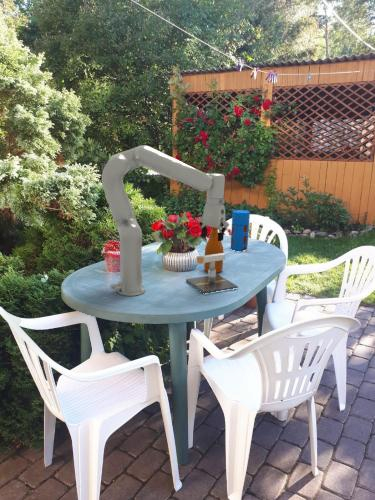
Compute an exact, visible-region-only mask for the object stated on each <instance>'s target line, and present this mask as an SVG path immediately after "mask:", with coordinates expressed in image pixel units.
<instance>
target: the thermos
mask: <svg viewBox="0 0 375 500" xmlns="http://www.w3.org/2000/svg"><path fill="white" fill-rule="evenodd" d="M231 216H232V217H231V231H230V232H231V233H230V250H231V249H232V250H235V251H234V252H236V251H243V250H246V249H247V250H248V244H249V230H250V217H251V213H250V211H249V210H244V209H239V210H233V211H232V215H231ZM232 250H231V251H232Z"/></svg>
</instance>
